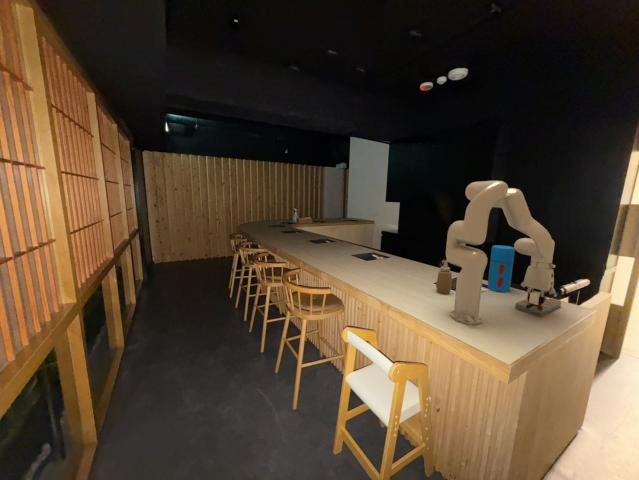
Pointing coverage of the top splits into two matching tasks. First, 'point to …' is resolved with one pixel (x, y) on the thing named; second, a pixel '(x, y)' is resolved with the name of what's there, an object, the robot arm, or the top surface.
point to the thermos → (501, 268)
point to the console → (538, 307)
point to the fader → (534, 298)
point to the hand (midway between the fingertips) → (535, 302)
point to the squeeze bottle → (444, 280)
